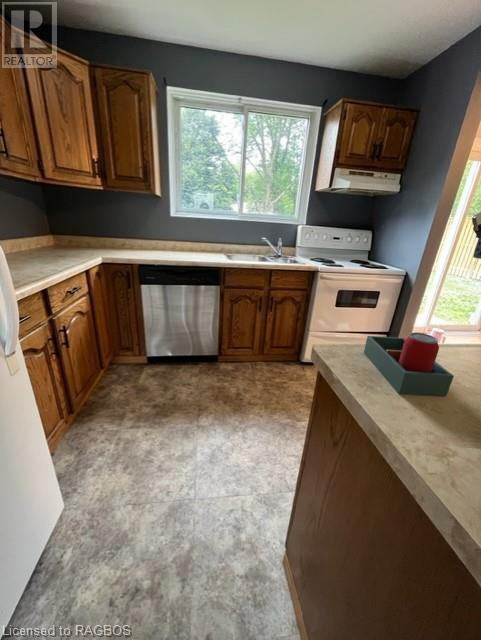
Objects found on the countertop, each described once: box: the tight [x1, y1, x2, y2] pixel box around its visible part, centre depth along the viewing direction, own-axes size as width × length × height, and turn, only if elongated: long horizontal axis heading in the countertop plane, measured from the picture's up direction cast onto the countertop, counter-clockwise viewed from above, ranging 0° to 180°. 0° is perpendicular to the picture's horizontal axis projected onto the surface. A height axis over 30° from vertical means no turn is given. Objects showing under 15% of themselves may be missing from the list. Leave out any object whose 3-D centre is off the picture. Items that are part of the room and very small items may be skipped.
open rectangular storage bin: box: [363, 335, 455, 398], centre depth 69 cm, size 11×20×6 cm, turn 178°
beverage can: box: [399, 332, 440, 373], centre depth 64 cm, size 7×7×12 cm
